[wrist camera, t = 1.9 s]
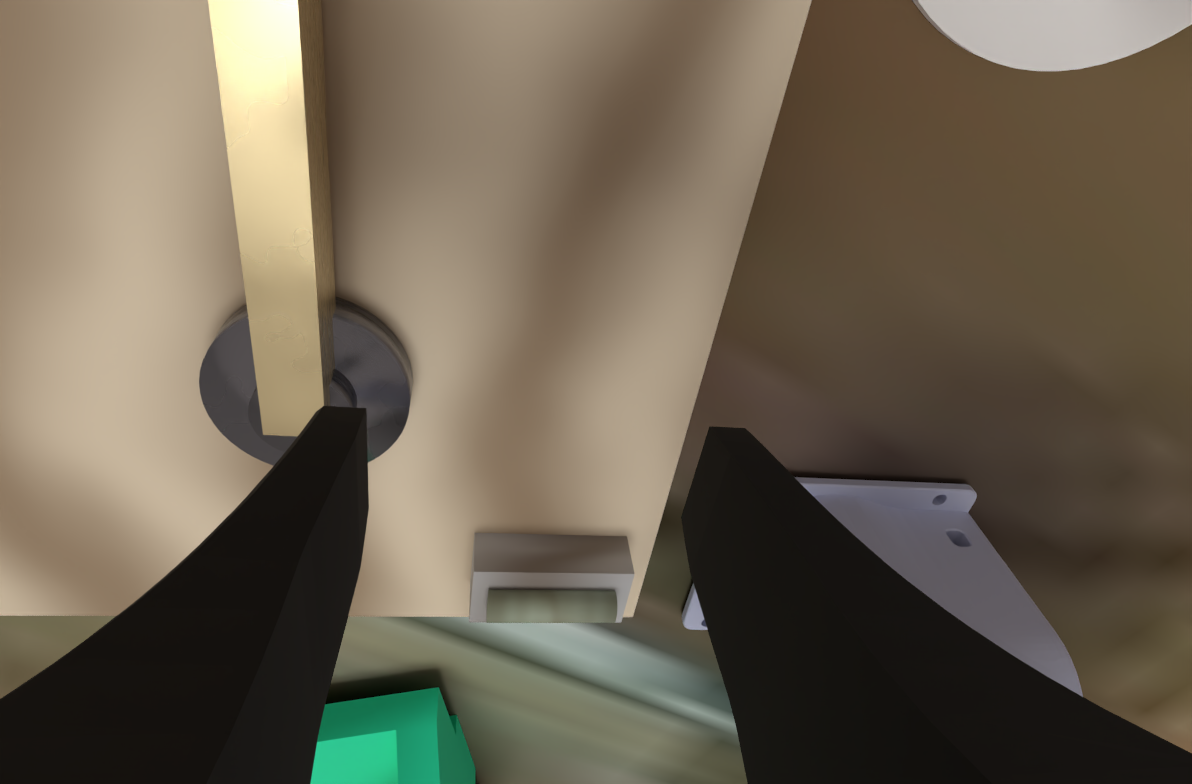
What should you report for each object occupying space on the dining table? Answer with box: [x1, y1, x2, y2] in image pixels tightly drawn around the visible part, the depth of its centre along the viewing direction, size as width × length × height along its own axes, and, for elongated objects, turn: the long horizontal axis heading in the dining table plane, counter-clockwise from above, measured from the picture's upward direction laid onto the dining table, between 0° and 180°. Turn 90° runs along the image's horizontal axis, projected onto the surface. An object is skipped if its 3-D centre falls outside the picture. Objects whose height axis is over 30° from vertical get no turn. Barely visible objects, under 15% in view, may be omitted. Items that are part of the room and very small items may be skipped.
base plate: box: [0, 0, 812, 623], centre depth 18 cm, size 21×22×4 cm
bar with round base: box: [199, 0, 413, 466], centre depth 16 cm, size 5×12×2 cm, turn 171°
